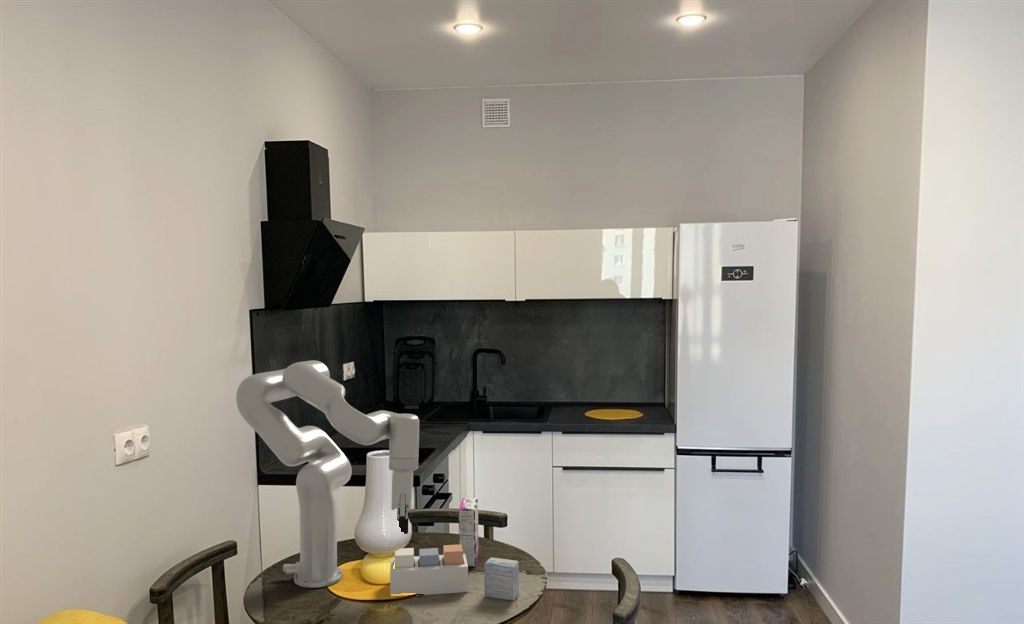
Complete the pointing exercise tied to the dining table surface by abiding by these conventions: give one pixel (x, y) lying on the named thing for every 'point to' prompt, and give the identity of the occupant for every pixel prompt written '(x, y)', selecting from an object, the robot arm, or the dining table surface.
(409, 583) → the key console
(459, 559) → the terracotta key
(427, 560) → the slate key
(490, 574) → the medicine box
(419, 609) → the dining table surface
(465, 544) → the candy bar box
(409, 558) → the ivory key
